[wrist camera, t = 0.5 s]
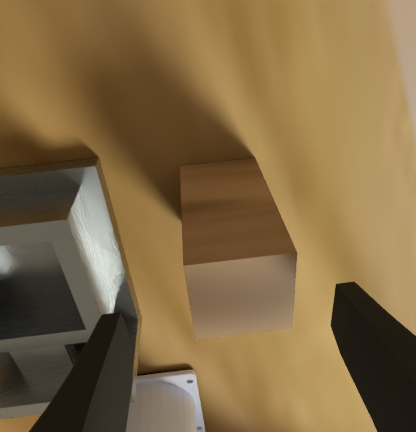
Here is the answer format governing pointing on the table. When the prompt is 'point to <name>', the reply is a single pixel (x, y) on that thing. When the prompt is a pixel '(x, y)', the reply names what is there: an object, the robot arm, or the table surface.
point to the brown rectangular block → (235, 251)
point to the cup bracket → (56, 278)
